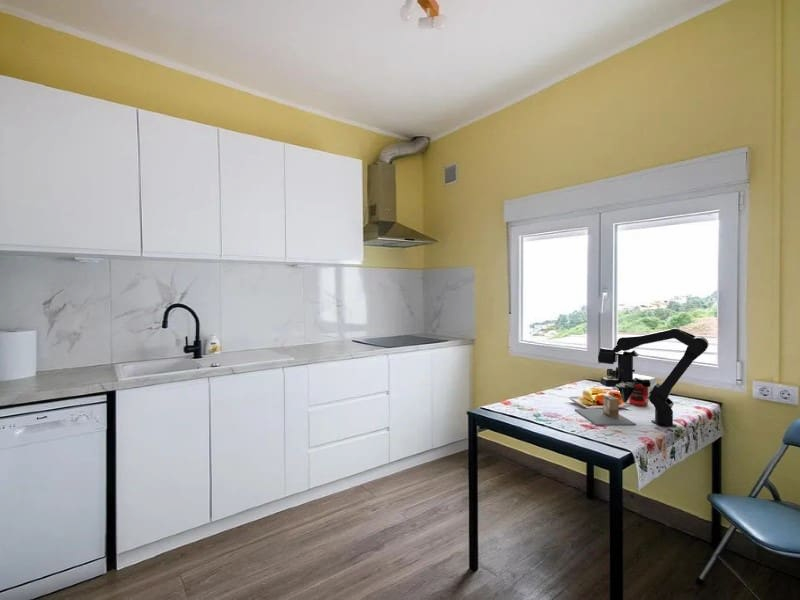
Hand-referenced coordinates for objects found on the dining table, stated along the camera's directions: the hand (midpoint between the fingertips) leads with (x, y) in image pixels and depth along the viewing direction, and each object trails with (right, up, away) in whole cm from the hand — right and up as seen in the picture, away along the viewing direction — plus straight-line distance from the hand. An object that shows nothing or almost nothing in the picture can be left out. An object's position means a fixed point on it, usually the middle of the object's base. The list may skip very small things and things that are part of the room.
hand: (624, 402), depth 174 cm
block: (-6, -6, 0) cm, 8 cm away
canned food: (+17, -6, +19) cm, 26 cm away
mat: (-9, -7, 0) cm, 11 cm away
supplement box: (+24, -6, +36) cm, 44 cm away
